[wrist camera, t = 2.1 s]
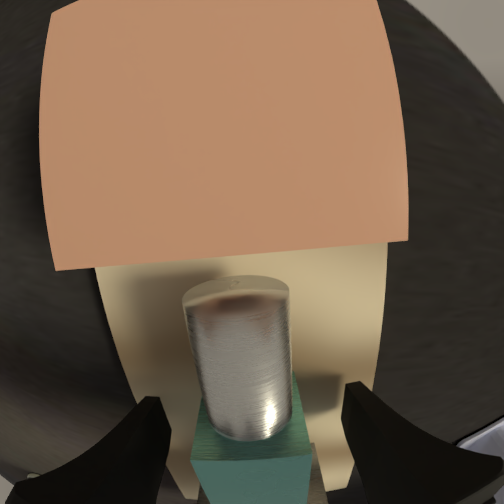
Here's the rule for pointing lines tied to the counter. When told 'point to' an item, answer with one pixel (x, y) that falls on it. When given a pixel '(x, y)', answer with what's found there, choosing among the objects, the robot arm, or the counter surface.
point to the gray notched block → (316, 491)
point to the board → (302, 338)
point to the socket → (218, 130)
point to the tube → (247, 393)
